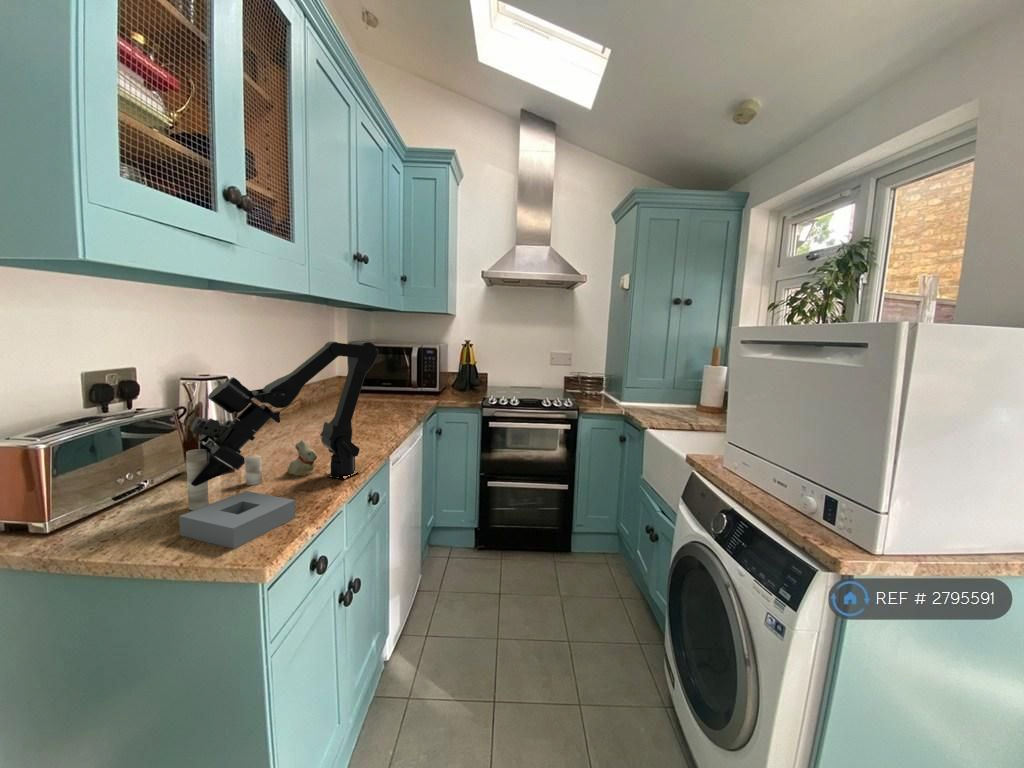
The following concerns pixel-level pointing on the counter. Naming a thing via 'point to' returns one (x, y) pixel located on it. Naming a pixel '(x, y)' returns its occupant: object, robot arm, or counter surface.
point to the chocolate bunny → (303, 460)
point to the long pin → (194, 465)
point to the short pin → (253, 470)
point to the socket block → (237, 519)
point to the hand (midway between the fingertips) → (189, 479)
